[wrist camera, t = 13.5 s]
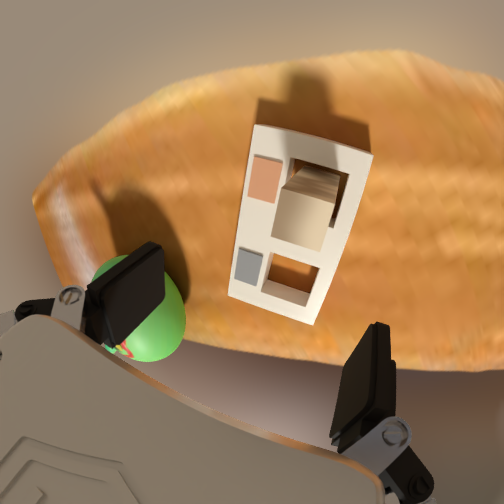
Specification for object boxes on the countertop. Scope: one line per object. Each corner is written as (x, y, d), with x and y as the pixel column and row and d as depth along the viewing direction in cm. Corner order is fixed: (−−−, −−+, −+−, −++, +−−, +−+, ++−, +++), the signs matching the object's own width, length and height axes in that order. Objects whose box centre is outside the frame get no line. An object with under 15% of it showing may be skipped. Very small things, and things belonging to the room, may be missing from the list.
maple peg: (340, 175, 27) (334, 204, 18) (330, 208, 29) (319, 252, 20) (305, 165, 28) (281, 188, 19) (297, 198, 30) (270, 236, 21)
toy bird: (212, 331, 46) (169, 395, 34) (144, 320, 52) (100, 367, 40) (180, 236, 39) (111, 292, 26) (111, 242, 45) (51, 282, 33)
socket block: (370, 152, 25) (373, 155, 22) (316, 311, 36) (312, 326, 34) (263, 124, 28) (253, 124, 25) (236, 283, 39) (226, 296, 36)
